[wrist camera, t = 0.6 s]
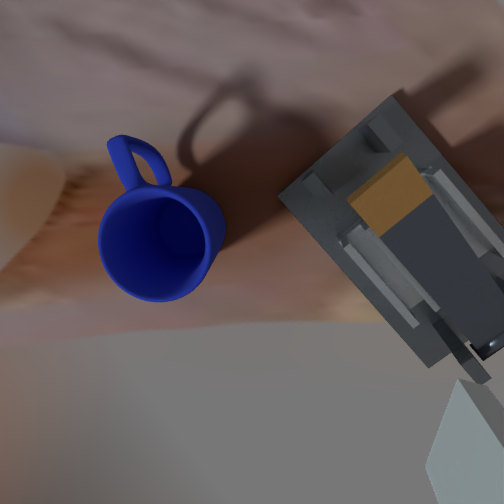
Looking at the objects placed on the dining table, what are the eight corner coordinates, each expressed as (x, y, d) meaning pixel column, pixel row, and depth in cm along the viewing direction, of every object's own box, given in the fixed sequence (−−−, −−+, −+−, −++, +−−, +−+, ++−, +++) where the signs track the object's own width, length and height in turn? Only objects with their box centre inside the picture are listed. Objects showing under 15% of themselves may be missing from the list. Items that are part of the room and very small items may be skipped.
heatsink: (277, 195, 40) (268, 206, 32) (389, 96, 38) (412, 78, 29) (425, 363, 42) (455, 418, 33) (543, 279, 39) (610, 315, 30)
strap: (339, 198, 25) (350, 210, 23) (400, 146, 24) (414, 156, 23) (473, 350, 35) (485, 364, 34) (520, 317, 34) (534, 331, 33)
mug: (198, 122, 40) (161, 111, 30) (249, 252, 42) (229, 281, 32) (115, 158, 42) (54, 158, 32) (167, 281, 43) (125, 318, 34)
